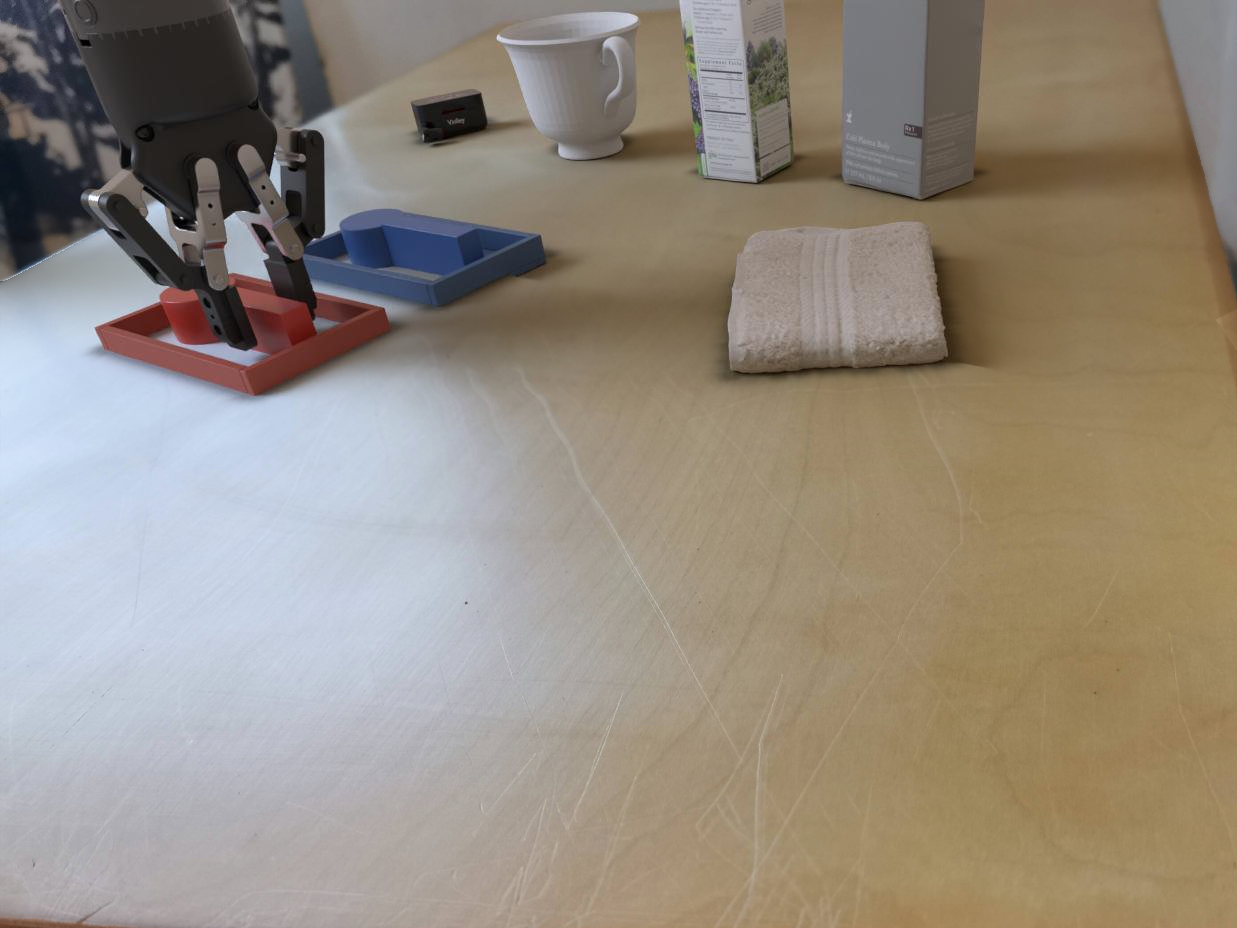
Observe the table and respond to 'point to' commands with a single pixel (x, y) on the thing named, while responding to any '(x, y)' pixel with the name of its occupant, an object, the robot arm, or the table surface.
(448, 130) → the black electronic device
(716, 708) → the table surface
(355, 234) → the blue rounded-end block
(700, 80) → the syrup box
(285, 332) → the red rounded-end block
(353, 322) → the red frame
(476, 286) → the blue frame
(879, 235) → the washcloth
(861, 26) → the cosmetic box
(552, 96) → the teacup
